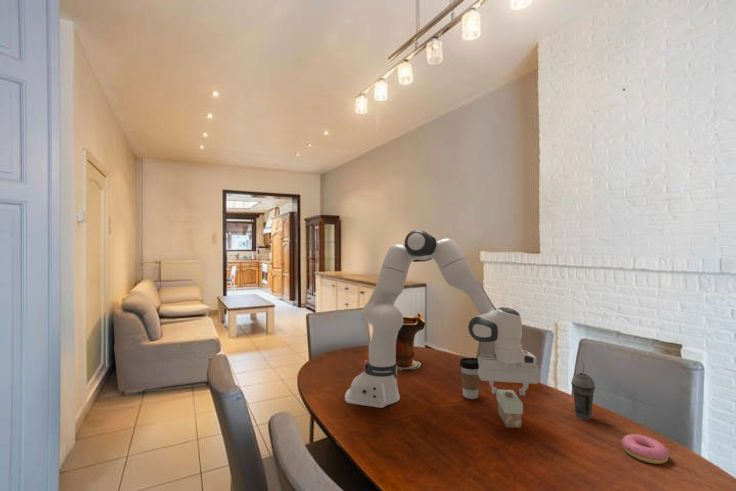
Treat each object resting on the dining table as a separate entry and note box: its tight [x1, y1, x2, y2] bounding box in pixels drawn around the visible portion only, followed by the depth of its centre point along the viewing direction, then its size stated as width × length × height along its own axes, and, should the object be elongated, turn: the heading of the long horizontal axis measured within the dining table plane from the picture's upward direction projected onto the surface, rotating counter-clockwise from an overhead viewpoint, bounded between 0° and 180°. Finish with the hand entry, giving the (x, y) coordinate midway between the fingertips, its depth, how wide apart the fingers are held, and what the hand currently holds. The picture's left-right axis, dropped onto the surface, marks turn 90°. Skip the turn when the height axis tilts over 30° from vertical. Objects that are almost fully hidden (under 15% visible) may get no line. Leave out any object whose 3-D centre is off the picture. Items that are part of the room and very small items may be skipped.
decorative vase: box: [396, 312, 426, 371], centre depth 179 cm, size 21×23×28 cm
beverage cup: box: [570, 362, 596, 421], centre depth 123 cm, size 7×7×20 cm
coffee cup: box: [459, 357, 481, 400], centre depth 141 cm, size 8×8×15 cm
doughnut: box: [621, 433, 670, 465], centre depth 101 cm, size 11×11×4 cm
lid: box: [496, 389, 524, 415], centre depth 121 cm, size 6×11×5 cm, turn 174°
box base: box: [497, 401, 522, 429], centre depth 121 cm, size 5×10×5 cm, turn 173°
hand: (508, 393), depth 121 cm, fingers open, 8 cm apart
